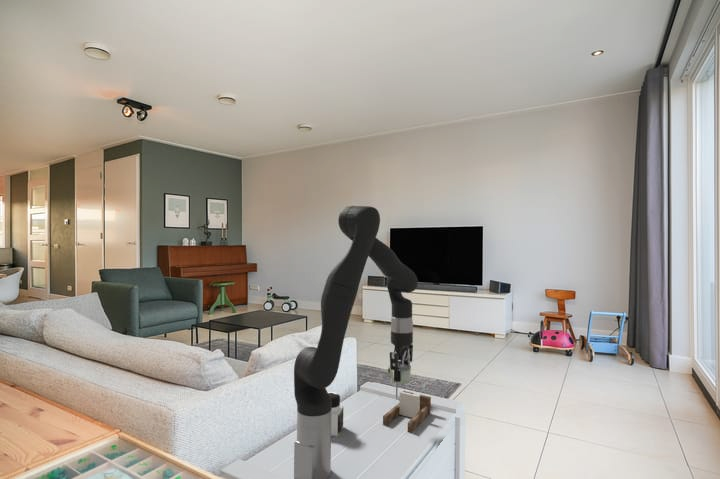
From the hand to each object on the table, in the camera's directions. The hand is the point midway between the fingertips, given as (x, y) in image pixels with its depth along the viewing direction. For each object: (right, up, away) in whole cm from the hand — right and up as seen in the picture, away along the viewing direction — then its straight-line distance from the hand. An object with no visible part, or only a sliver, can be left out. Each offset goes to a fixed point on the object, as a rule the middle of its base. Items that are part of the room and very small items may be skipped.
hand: (401, 378), depth 133 cm
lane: (+2, -16, +4) cm, 17 cm away
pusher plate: (+5, -16, +9) cm, 19 cm away
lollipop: (0, -17, +23) cm, 28 cm away
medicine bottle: (-24, -16, -5) cm, 29 cm away
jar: (0, -1, 0) cm, 1 cm away
